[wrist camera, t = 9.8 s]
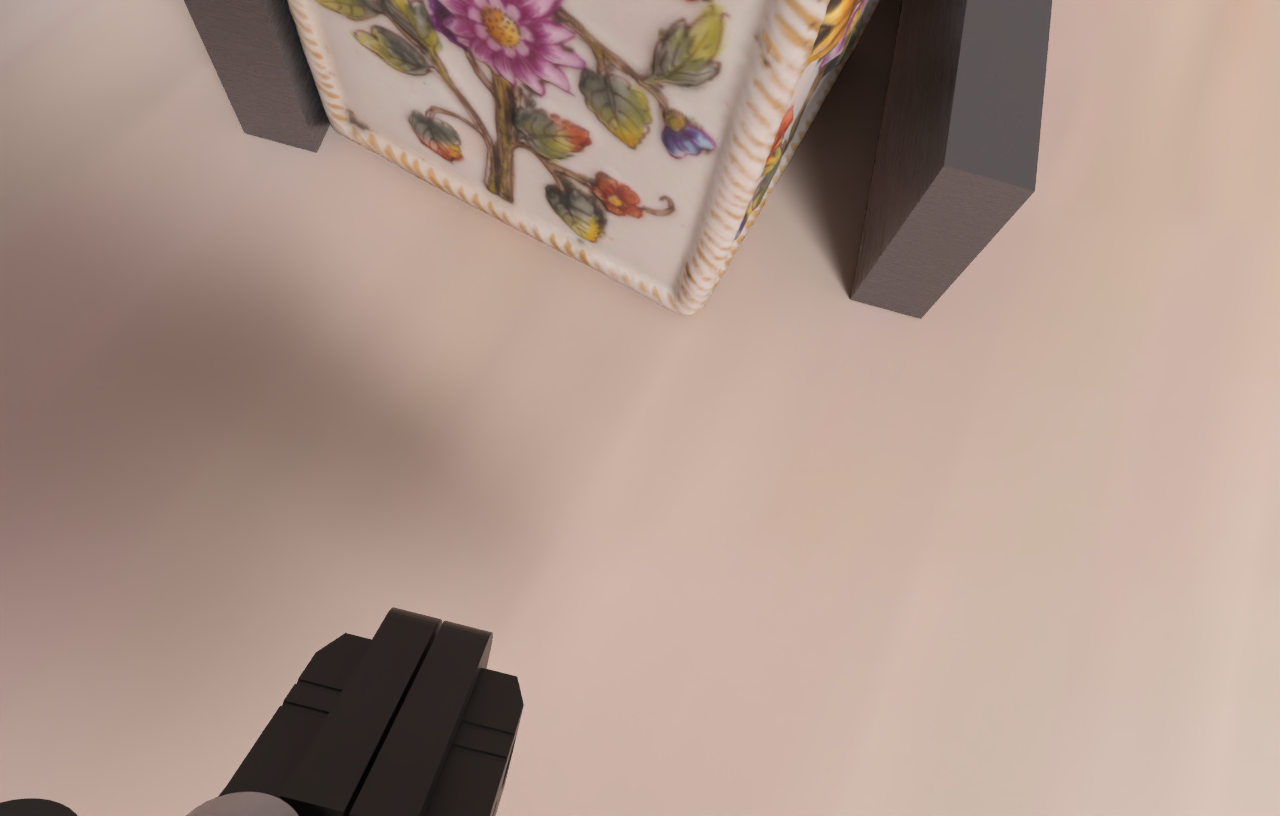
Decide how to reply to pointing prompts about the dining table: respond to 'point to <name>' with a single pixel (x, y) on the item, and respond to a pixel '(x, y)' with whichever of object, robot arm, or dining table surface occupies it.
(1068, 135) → the dining table surface
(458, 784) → the robot arm
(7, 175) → the dining table surface
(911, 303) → the grey tray
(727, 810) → the dining table surface
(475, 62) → the decorative jar
